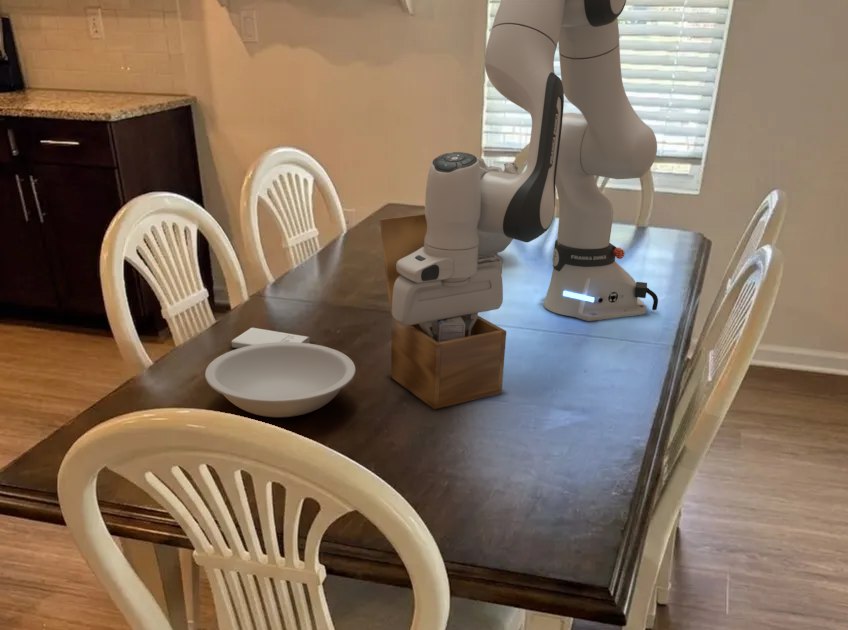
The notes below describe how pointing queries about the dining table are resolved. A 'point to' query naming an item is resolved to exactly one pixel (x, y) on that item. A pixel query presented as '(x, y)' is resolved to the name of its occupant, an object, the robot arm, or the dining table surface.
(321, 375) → the soup bowl
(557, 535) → the dining table surface
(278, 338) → the hard drive
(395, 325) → the chest
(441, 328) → the medicine box
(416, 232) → the lid
